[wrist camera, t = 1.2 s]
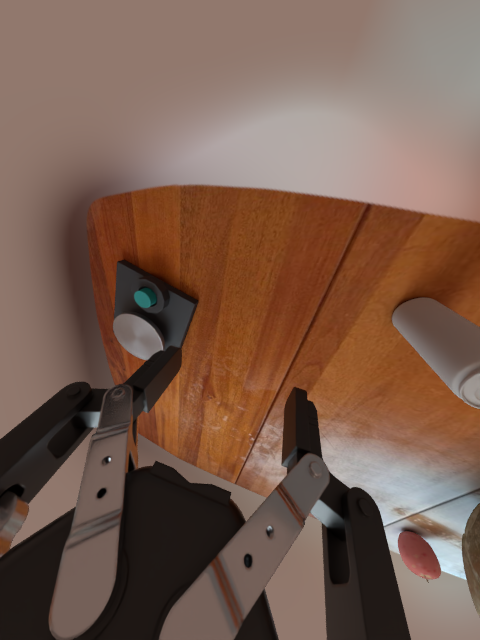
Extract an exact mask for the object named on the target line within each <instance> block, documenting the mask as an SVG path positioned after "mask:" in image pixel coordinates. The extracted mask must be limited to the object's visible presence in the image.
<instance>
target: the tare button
mask: <svg viewBox="0 0 480 640" xmlns="http://www.w3.org/2000/svg"><path fill="white" fill-rule="evenodd" d="M134 298H135V301H136V302H137V304H138V305H139V306H141V307H143V308H148V307H150V306H151V305H153V304H155V303H156V301H157V297H156V294H155V293H154V291H153V290H151V289H150V288H143V289H141V290H139V291H137V292H135V294H134Z"/></svg>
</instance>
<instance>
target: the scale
mask: <svg viewBox="0 0 480 640" xmlns="http://www.w3.org/2000/svg"><path fill="white" fill-rule="evenodd" d="M143 288H150V289H151V290H153V291H154V293H155V294H156V297H157V301H156V303H155V304H153V305H151V306H150V307H148V308H143V307H141V306H139V305H138V304H137V302H136V301H135V298H134V294H135V292H137V291H139V290H141V289H143ZM197 304H198V300H196V299H194V298H192V297H191V296H189V295H187V294H185V293H183V292H181V291H180V290H178V289H176V288H174V287H172V286H171V285H169V284H167V283H165V282H163V281H162V280H160V279H158V278H156V277H154V276H152V275H151V274H149V273H147V272H145V271H143V270H142V269H140V268H138V267H136V266H134V265H133V264H131V263H129V262H127V261H125V260H121V261H118V262H117V276H116V295H115V313H114V320H115V318H116V317H117V316H119V315H120V314H122V313H125V312H135V313H139V314H141V315H143V316H145V317H147V318H148V319H150V320H151V321H152V322H153V323H154V324H155V325H156V326H157V327H158V328H159V330H160V331H161V333H162V335H163V337H164V341H165V349H164V351H165V350H166V349H167V348H168V347H169V346H170V345H172V346H175V347H178V348H182V345H183V342H184V340H185V337H186V334H187V331H188V329H189V326H190V323H191V321H192V318H193V315H194V312H195V310H196V307H197ZM113 332H114V331H113Z"/></svg>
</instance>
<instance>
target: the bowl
mask: <svg viewBox="0 0 480 640" xmlns="http://www.w3.org/2000/svg"><path fill="white" fill-rule="evenodd" d="M462 556H463V563H464V569H465V574H466V578H467V582H468V586H469V590H470V593H471V597H472V599H473V603H474V605H475V608H476V610H477V613H478V615H479V616H480V503H479V504H478V505H477V506H476V507H475V509H474V510H473V512H472V513H471V515H470V517H469V519H468V521H467V524H466V528H465V533H464V534H463V536H462Z"/></svg>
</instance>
